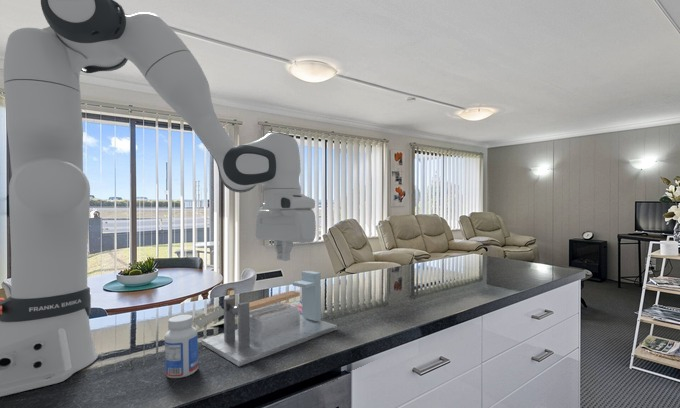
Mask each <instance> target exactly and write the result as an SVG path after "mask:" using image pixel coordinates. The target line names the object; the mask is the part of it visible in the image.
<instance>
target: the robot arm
mask: <svg viewBox="0 0 680 408" xmlns="http://www.w3.org/2000/svg"><path fill="white" fill-rule="evenodd" d="M40 7H41V11H42V14H43V17H44V18H45V20H46V22H47V24H48V25H49V26H48V27H44V28H38V27H22V28H17V29H15V30H13V31H12V32H11V33H10V34H9V35H8V37H7V42H6V47H5V52H4V59H3V60H4V61H3V90H4V91H3V93H4V104H5V105H4V106H5V118H6V119H5V120H6V132H7V137H8V138H7V140H8V148H9V149H8V150H9V160H10V169H11V170H10V171H11V177H10V180H9V185H8V188H9V189H8V196H9V197H8V200H9V201H8V202H9V203H8V204H9V205H8V206H9V233H10V263H11V264H10V267H11V268H10V269H11V270H10V272H11V273H10V278H11V279H10V280H11V281H10V285H11V286H10V288H11V289H10V292H11V293H10V296H9V297H7V298H4V297H0V398H1V397H5V396H9V395H13V394H17V393H21V392H25V391H29V390H33V389H38V388H42V387H47V386H50V385H55V384H58V383H61V382H65V380H67V379H69V378H70V377H71V376H73V374H75V373H76V372H78V371H80V370H83V369H84V368H86V367H88V366H90V365H91V364H93V363H94V362H95V361H96V360H97V359H98V357H99V355H98V352H97V349H96V347H95V343H94V340H93V336H92V330H91V326H90V315H91V309H92V308H91V307H92V298H91V297H92V293H91V288H90V287H88V242H89V241H88V240H89V226H90V222H89V221H90V203H91V202H90V201H91V199H90V198H91V185H90V181H89V180H88V177H87V175H86V174H85V173H84V155H83V154H84V153H83V152H84V130H83V129H84V127H83V110H82V97H81V86H80V85H81V84H80V83H81V82H80V75H81V72H83V73H85V74H93V73H98V72H113V71H116V70H119V69H121V68H123V67H124V66H125V65H127V63H128V61H129V62H131V63H132V64H133V65H134V66H135V67H136V68H137V69H138V70H139V72H140V73H141V74H142V76H143V77H144V78H145V80H146V81H147V83H148V84H149V85H150V86H151V87H152V88H153V90H154V91H155V92H156V93H157V94H158V95H159V96H160V98H161V99H162V100H163V101H164V102H165V103H166V104H167V105H168V106H169V107H170V108H171V109H172V110H173V111H174V112H176V114H177V115H179V117H181V118H182V120H183V121H185V123H186V124H187V125H189V127H190V128H191V129H192V130H193V132H194V133H195V134H196V136H197V138H199V140H200V141H201V143H202V145H204V147H205V148H206V149H207V151H208V152H209V154H210V155H211V156H212V158H213V159H214V161H215V163H216V166H217V169H218V175H219V178H220V181H221V182H222V184H223V186H224V187H226V188H227V189H228V190H230V191H232V192H234V193H242V194H243V193H247V192H250V191H251V190H253V189H254V188H255V187H256V186H262V187H263V203H261V205H260V207H259V208H258V210H257V213H256V217H255V233H254V234H255V237H256V239H257V240H261V241H262V240H264V241H273V247H274V250H275V252H276V260H278V261H283V262H284V261H285V262H286V261H291V252H292V249H293V247H294V243H296V244H297V243H298V244H300V243H301V244H305V243H306V244H307V243H313V242H314V241H315V239H316V234H317V233H316V232H317V230H316V227H317V225H316V214H315V212H314V210H313V209H315V207H316V200H315V199H314V198H311V197H309V196H307V195H304V194H303V193H302V188H301V183H300V175H301V172H302V171H301V169H302V168H301V156H300V148H299V147H300V146H299V143H298V141H297V140H296V139H295V138H294V137H292V136H291V135H289V134H286V133H282V132H268V133H266V134H265V135H264V136H262V137H261V138H258V139H257V140H254V141H252V142H247V143H244V144H243V143H242V144H239V145H237V144H235V142H234V140H233V139H232V137H231V135H229V133H228V132H227V131H226V129H225V128H224V126H223V125H222V123H221V122H220V119H219V118H218V117H217V114H216V112H215V108H214V106H213V103H212V102H213V101H212V94H211V90H210V83H209V80H208V79H207V76H206V74H205V72H204V71H203V69H202V67H201V64H200V63H199V62H198V60H197V59H196V57H195V56H194V54H193V53H192V52H191V50H190V49H189V48H188V47H187V45H186V44H185V43H184V42H183V40H182V39H181V38H180V36H179V35H178V34H177V33H176V32H175V31H174V29H172V28H171V27H170V26H169V25H168V24H167V23H166V21H164V20H163V19H162V18H161V17H159V16H158V15H157V14H155V13H151V12H144V11H143V12H138V13H135V14H134V13H133V14H131V15H126V13H125V10H124V9H123V6H122V5H121V4H120V3H119V2H117V1H116V0H40Z"/></svg>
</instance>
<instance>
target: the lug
mask: <svg viewBox="0 0 680 408" xmlns="http://www.w3.org/2000/svg"><path fill="white" fill-rule="evenodd" d="M321 277H322V276H321V272H318V271H312V270H305V271H304V270H303V271H301V280H297V281H293V282H292V286H295V287H298V288H301V299H302V300H301V302H302V315H303V318H307V319H310V320H313V321H318V320H321V321H322V287H321V285H322V283H321V282H322V280H321Z"/></svg>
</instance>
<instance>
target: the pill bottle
mask: <svg viewBox="0 0 680 408" xmlns="http://www.w3.org/2000/svg"><path fill="white" fill-rule="evenodd" d="M193 319H194V318H193V315H192V314H179V315H175V316H172V317H170V318H169V319H168V321H167V322H168V323H167V325H168V329H169V330H167V331H166V333H165V334H164V361H165V375H166V377H167V378H169V379H181V378H185V377H189V376H190V375H193V374H194V373H195V372H196V371H198V370H199V346H198V345H199V343H198V342H199V341H198V338H199V337H198V330H197V328H196V327H195V326H192V325H194V322H193Z"/></svg>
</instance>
